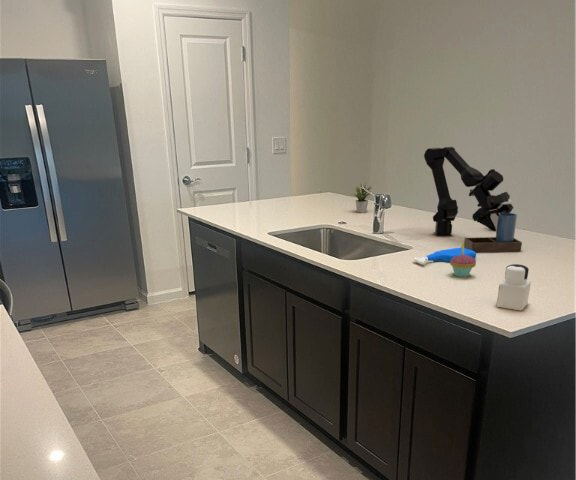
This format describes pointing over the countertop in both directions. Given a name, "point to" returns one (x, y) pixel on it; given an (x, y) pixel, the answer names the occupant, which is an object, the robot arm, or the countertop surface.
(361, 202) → the house plant
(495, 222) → the coffee cup
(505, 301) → the medicine bottle
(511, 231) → the tumbler
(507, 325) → the countertop surface
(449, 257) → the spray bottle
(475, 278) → the countertop surface
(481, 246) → the wooden divided tray
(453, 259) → the cupcake
